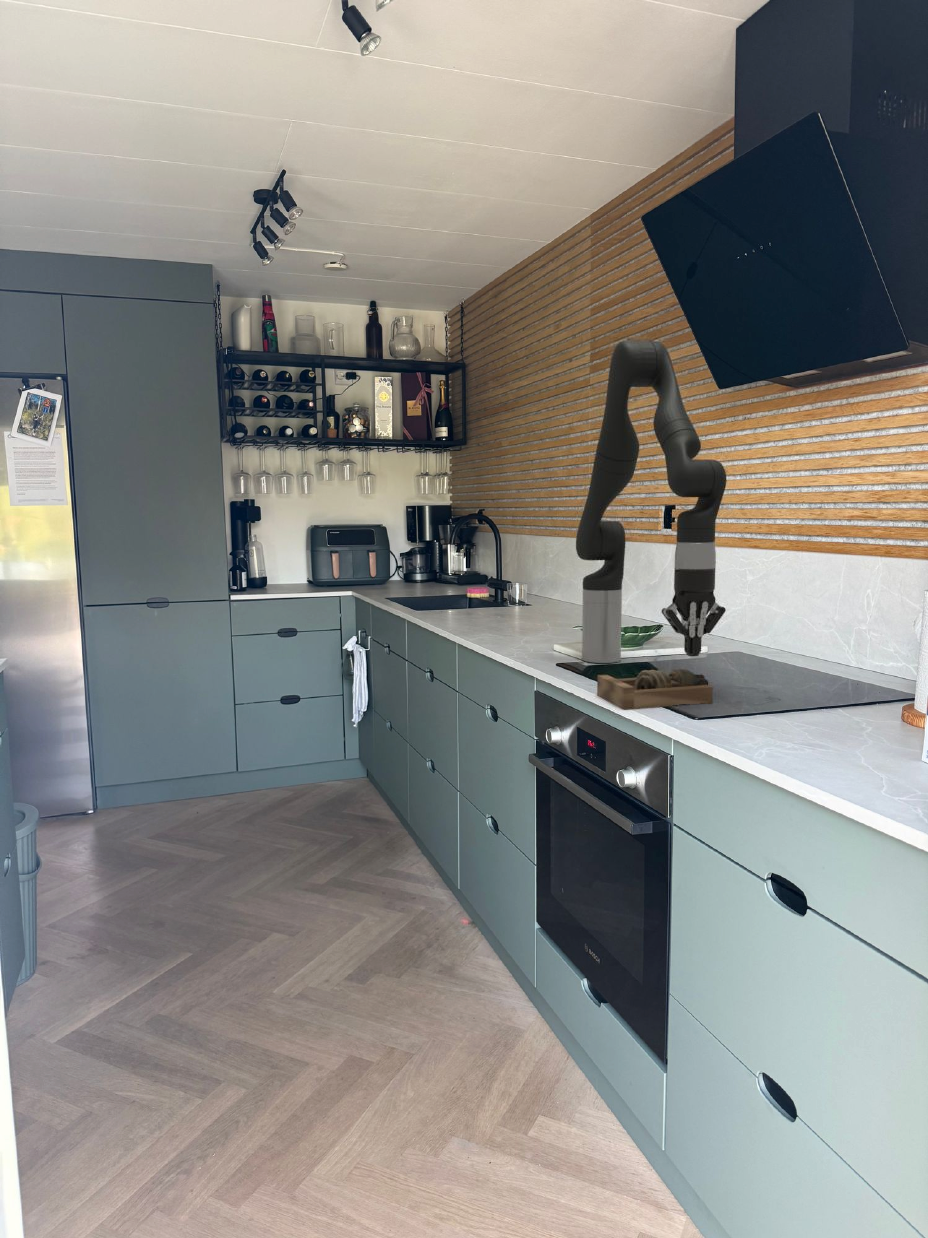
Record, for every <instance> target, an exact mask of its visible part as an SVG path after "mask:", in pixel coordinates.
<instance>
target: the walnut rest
mask: <svg viewBox="0 0 928 1238" xmlns="http://www.w3.org/2000/svg"><path fill="white" fill-rule="evenodd" d="M636 678H637V677H629V678H627V677H626V678H615V677H613V676H611V675H608V674H598V675H597V680H596V682H597V684H596V686H597V689H596V690H597V691H596V696H598V697H600V698H601V699H604V700H606V702H609V703H610V704H613V705H614V706H616V707H618V708H620V709H622V710H635V709H636V710H637V709H648V708H662V707H663V708H665V707H674V706H673V705H678V706H680V705H679V704H690V705H701V704H700V703H703V704H711V703H713V693H714V692H713V691H714V690H713V688H714V687H713V686H712V685H709V684H708V685H699V686H685V687H671V688H657V689H643V690H635V680H636Z"/></svg>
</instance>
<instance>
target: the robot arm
mask: <svg viewBox="0 0 928 1238" xmlns="http://www.w3.org/2000/svg"><path fill="white" fill-rule="evenodd" d="M611 355H612V356H611V359H610V363H609V371H608V381H607V387H606V388H607V389H606V398H605V406H604V411H603V417H602V422H601V423H602V424H601V428H600V433H599V436H598V437H599V439H598V440H597V445H596V450H595V455H594V460H593V466H592V471H591V477H590V482H589V488H588V492H587V498H586V499H585V500H586V501H585V504H584V507H583V509H582V513H581V516H580V520H579V524H578V528H577V533H576V538H575V551H576V554H577V557H578V558H579V559H581V560H584V561H604V562H603V565H602V567H600V568H598V570H596V571H594V572H592V573H590V574H588V575H585V576H584V577H583V579H582V612H581V613H582V630H581V631H582V632H581V635H582V637H581V640H582V641H581V660H582V661H584V662H587V663H593V664H596V663H597V664H612V663H619V662H621V660H622V657H621V656H622V617H623V616H622V610H623V609H622V607H623V579H624V572H625V555H626V543H627V541H626V532H625V527H624V526H623V524H622V523H621V522H620V521H616V520H602V519H603V517H604V514H605V512H606V511H607V509H608V507H609V506H610V505H611V503H612V502H613V501H614V500H615V499H616V498H617V496H619V495H620V494H621V492H623V491H624V490H625V488H626V487H627V486H628V485H629V483H630V481H632V479H633V477H634V475H635V471H636V467H637V463H638V458H639V454H640V442H639V437H638V435H637V433H636V431H635V428H634V425H633V422H632V420H631V418H630V417H631V416H630V414H629V410H628V409H629V408H628V405H629V396H630V392H631V388H652V389H653V390H654V392H655V393H656V395H657V397H658V402H657V406H656V410H655V412H654V415H653V416H654V417H653V431H654V435H655V437H656V439H657V441H658V443H659V446H660V448H661V450H662V452H663V454H664V458H665V459H664V460H665V466H666V475H667V477H666V478H667V484H668V487H669V489H670V490H671V491H672V493H673V494H675V495H676V496H678V497H679V498H680V497H681V498H697V500H696V502H695V505H694V507H693V508H691V509H688V510H684V511H681V512H680V513H679V514H678V516H677V520H676V544H675V551H674V552H675V553H674V574H673V577H674V578H673V581H674V583H673V589H674V594H673V597H672V600H671V602H672V603H671V604H669V606H667V607H663V608H662V609H661V614H662V615H663V616H664V618H665V620H666V621H667V622H668V624H669V625H670V626H671V628H672V629H673V631H674V632H675V634H680V635H682V636H683V637H684V641H683V643H684V647H683V650H684V653H686V656H688V657H699V655H700V653H701V652H702V638H703V636H704V635H706V634H710V633H711V632H712V631H713V630H714V628H715V627H716V626H717V624H718V622H719V621H720V620H721V619H722V618H723V616H724V614H725V613H726V610H727V609H726V607H724V606H721V605H720V604H718V603H717V602H716V601H717V599H716V597H715V593H714V591H715V589H716V564H717V554H716V553H717V552H716V522H717V517H718V513H719V511H720V507H721V503H722V500H723V497H724V494H725V491H726V486H727V482H728V481H727V472H726V469H725V467H724V466H723V464H722V463H721V462H720V461H718V460H716V459H697V458H696V457H697V456H698V455H699V453H700V451H701V448H702V447H701V446H702V442H701V439H700V437H699V435H698V433H697V431H696V429H695V426H694V425H693V423H692V421H691V419H690V417H689V415H688V413H687V410H686V408H685V406H684V403H683V400H682V395H681V392H680V387H679V384H678V379H677V376H676V373H675V369H674V366H673V362H672V359H671V356H670V353H669V351H668V349H667V347H666V346H665V345H664V343H662V342H660V341H656V340H622V341H620V342H619V343H618V344H617V345H616V346H615V347H614V349H613V352H612V354H611ZM694 458H695V459H694ZM678 614H679V616H680V619H681V620H680V619H679V617H678V616H677V615H678Z"/></svg>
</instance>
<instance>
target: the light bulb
mask: <svg viewBox="0 0 928 1238" xmlns="http://www.w3.org/2000/svg"><path fill="white" fill-rule="evenodd" d="M635 678H636V680H635V690H643V689H657V688H671V687H685V686H699V685H708V686H709V681H708V680H707V679H706V677H705V675H704V674H702V673H701V674H695V673H693V672H691V670H688V669H681V668H680V669H673V670H671V671H670V672H669V674H667V673H666V672H665V671H663V670H660V669H658V670H655V669H650V670H649V669H648V670H647V669H644V670H641V671H640V672H639V673H638V675H637V676H636V677H635Z"/></svg>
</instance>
